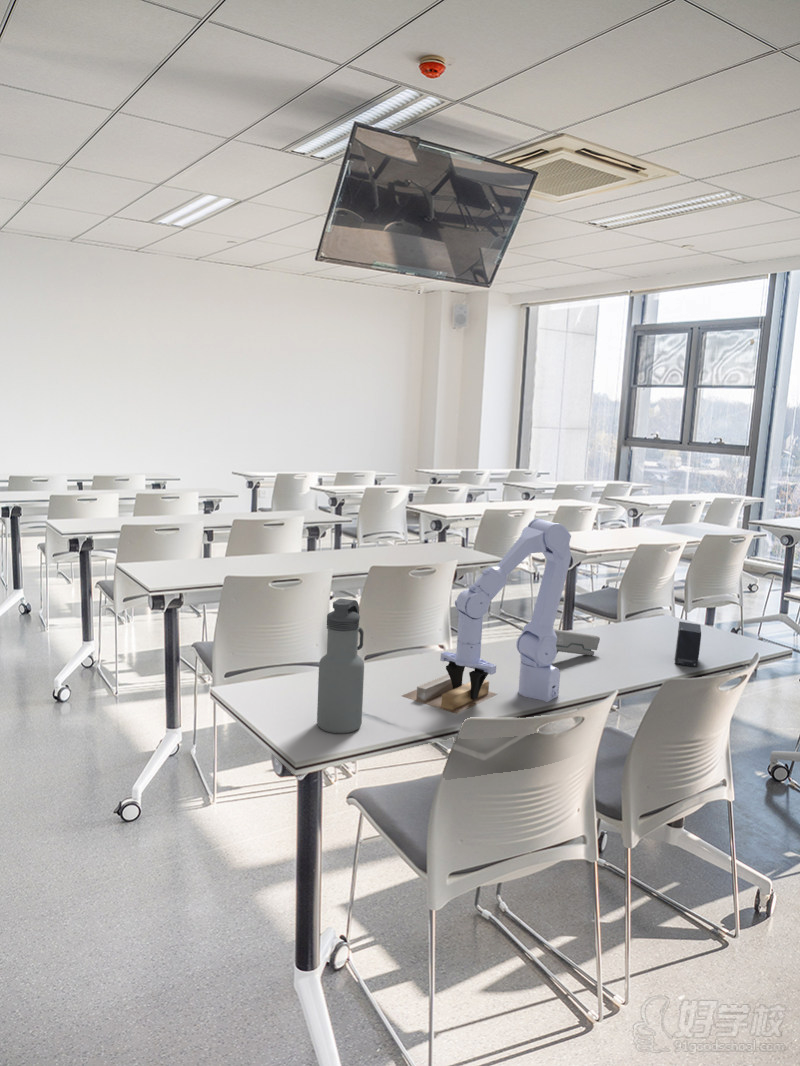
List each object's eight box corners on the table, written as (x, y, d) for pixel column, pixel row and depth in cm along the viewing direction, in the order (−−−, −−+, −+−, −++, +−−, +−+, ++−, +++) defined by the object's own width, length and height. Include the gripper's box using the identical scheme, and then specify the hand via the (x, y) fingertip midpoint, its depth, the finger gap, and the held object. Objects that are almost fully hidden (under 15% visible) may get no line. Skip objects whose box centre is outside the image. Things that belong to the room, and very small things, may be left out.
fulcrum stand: (497, 697, 199) (498, 682, 199) (456, 717, 185) (457, 700, 185) (443, 682, 209) (444, 667, 208) (401, 699, 195) (401, 683, 194)
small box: (698, 668, 232) (702, 632, 230) (674, 664, 234) (678, 629, 232) (697, 657, 242) (701, 623, 240) (674, 654, 244) (678, 620, 242)
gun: (528, 661, 226) (537, 626, 226) (587, 667, 241) (595, 635, 241) (535, 663, 224) (543, 628, 224) (593, 670, 239) (601, 637, 239)
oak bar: (478, 689, 201) (478, 678, 201) (488, 692, 200) (489, 681, 199) (441, 706, 189) (441, 694, 188) (451, 710, 187) (452, 697, 187)
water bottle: (327, 713, 184) (331, 593, 179) (368, 720, 181) (373, 598, 177) (309, 730, 174) (314, 603, 170) (352, 737, 171) (358, 608, 167)
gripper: (434, 637, 193) (431, 692, 195) (486, 651, 185) (482, 708, 187) (451, 632, 199) (447, 685, 201) (502, 645, 190) (498, 700, 192)
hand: (465, 695), depth 194 cm, fingers open, 4 cm apart
